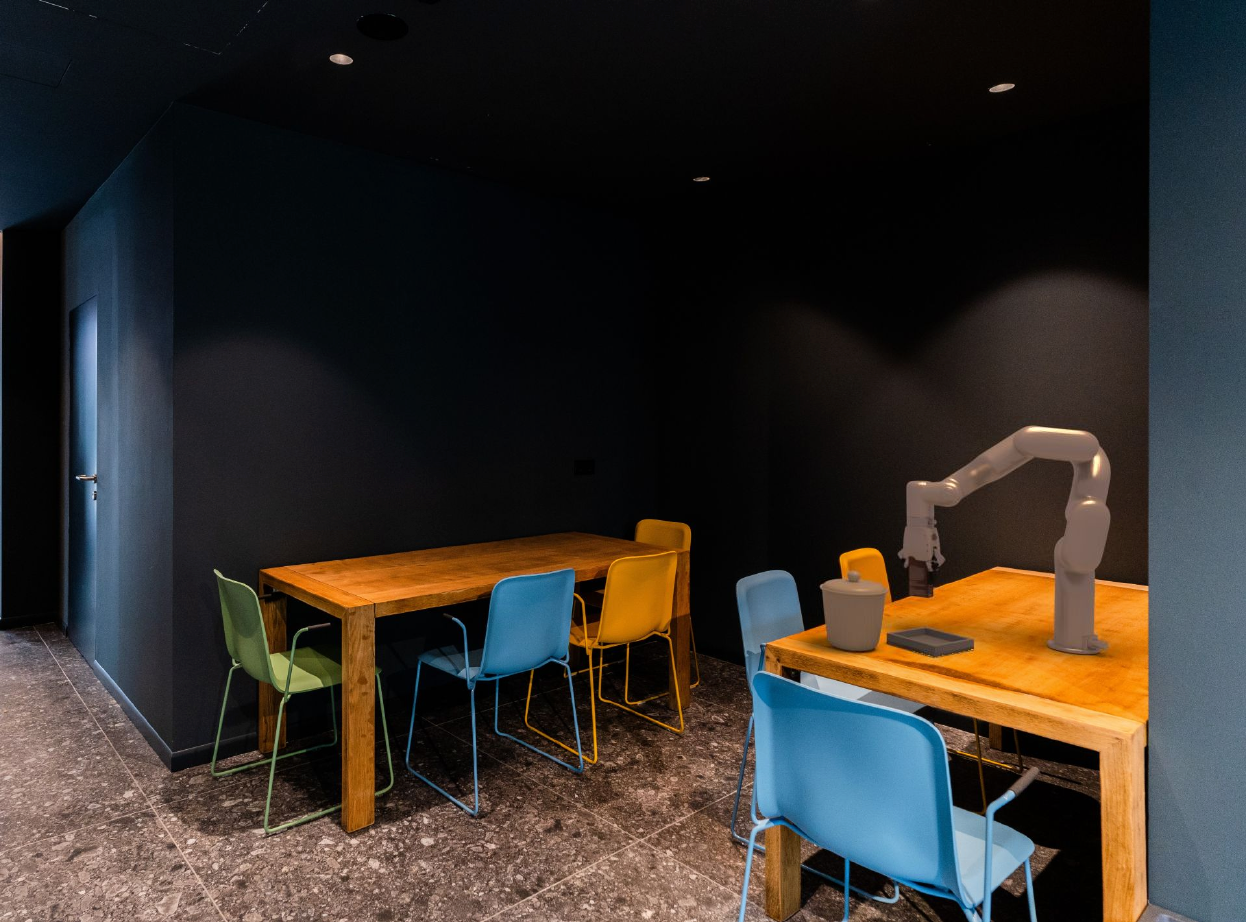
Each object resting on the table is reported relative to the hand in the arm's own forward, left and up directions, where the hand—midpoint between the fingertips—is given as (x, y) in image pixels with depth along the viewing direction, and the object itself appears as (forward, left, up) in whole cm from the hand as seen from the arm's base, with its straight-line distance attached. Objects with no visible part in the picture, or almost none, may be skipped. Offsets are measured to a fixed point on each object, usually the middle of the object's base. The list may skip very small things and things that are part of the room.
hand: (920, 582), depth 224 cm
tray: (-12, +10, -15) cm, 22 cm away
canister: (-2, +29, -16) cm, 33 cm away
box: (0, 0, -5) cm, 5 cm away
